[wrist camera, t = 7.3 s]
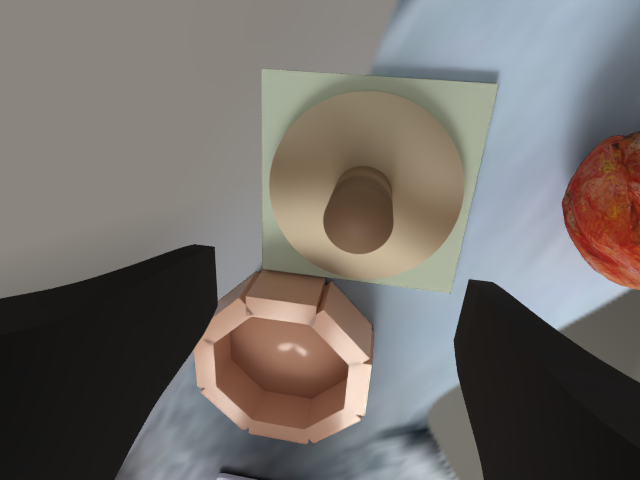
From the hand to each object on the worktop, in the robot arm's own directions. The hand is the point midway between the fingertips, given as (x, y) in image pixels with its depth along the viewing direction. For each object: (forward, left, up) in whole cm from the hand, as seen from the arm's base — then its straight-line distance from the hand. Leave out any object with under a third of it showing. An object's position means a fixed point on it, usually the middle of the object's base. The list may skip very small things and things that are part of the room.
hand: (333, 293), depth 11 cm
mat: (0, 0, -10) cm, 10 cm away
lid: (0, 0, -9) cm, 9 cm away
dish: (-10, +3, -10) cm, 15 cm away
